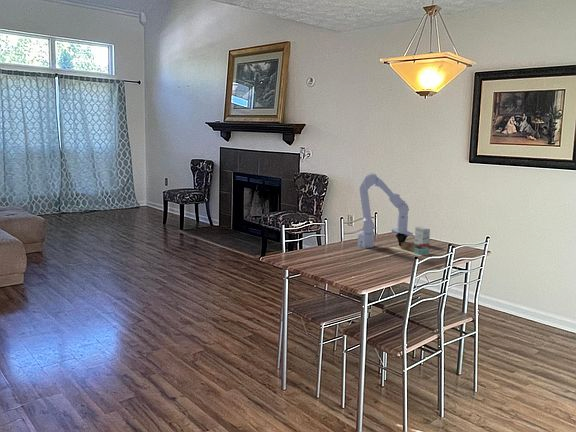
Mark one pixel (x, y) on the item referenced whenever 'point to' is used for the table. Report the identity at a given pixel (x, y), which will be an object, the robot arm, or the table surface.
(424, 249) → the end cap
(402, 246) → the brown rectangular block
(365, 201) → the robot arm
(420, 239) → the ink box
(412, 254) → the board
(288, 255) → the table surface
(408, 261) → the table surface
